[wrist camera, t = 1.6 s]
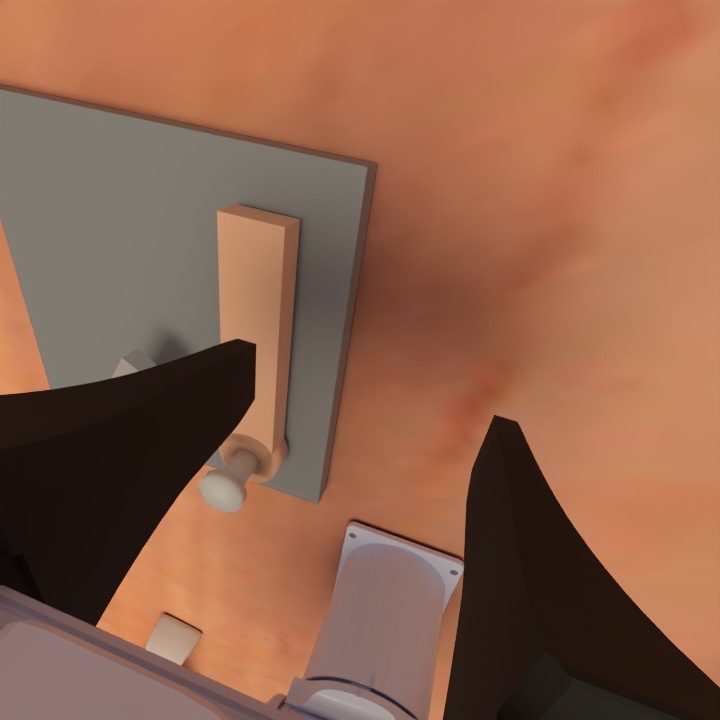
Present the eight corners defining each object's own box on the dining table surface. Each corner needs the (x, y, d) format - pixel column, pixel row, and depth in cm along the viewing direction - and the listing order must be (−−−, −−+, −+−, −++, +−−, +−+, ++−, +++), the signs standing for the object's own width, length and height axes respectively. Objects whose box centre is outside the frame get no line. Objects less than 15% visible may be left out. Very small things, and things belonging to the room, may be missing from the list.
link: (286, 472, 26) (250, 529, 23) (233, 454, 27) (190, 506, 23) (306, 220, 18) (257, 247, 15) (230, 202, 19) (164, 224, 15)
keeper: (198, 351, 24) (155, 384, 21) (164, 401, 27) (122, 436, 24) (169, 327, 24) (121, 357, 21) (139, 380, 27) (93, 413, 24)
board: (326, 487, 29) (317, 504, 27) (74, 399, 32) (57, 411, 31) (377, 163, 18) (367, 167, 17) (-8, 82, 21) (-40, 80, 20)
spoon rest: (209, 715, 58) (175, 785, 52) (133, 675, 59) (91, 738, 53) (232, 642, 45) (190, 723, 39) (134, 592, 46) (78, 663, 40)
